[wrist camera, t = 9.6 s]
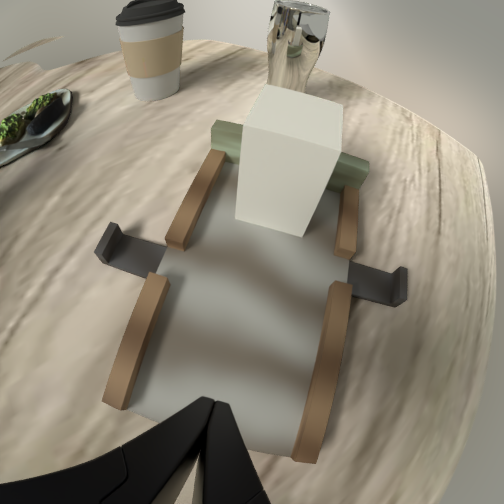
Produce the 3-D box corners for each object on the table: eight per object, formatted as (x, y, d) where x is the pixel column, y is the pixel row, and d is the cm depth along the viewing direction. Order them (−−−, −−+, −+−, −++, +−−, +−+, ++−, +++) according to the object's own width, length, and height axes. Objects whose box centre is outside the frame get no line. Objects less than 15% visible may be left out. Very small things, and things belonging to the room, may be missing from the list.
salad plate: (-31, 198, 24) (-46, 179, 20) (-8, 132, 31) (-17, 115, 27) (70, 143, 29) (59, 116, 25) (76, 89, 36) (70, 68, 32)
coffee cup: (199, 86, 36) (200, -6, 22) (149, 112, 32) (136, 9, 19) (163, 72, 38) (158, -7, 25) (117, 95, 34) (102, 9, 21)
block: (302, 237, 24) (341, 151, 15) (234, 218, 24) (243, 125, 16) (311, 187, 27) (342, 104, 18) (252, 171, 27) (265, 83, 18)
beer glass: (275, 116, 33) (295, 10, 20) (249, 92, 36) (261, -2, 23) (316, 109, 35) (344, 16, 22) (289, 86, 38) (307, 1, 25)
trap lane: (368, 461, 16) (399, 472, 12) (58, 371, 17) (26, 363, 13) (394, 206, 28) (414, 180, 24) (172, 144, 29) (167, 112, 25)
